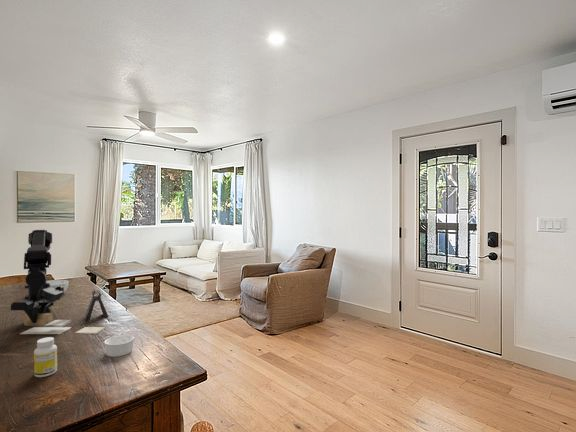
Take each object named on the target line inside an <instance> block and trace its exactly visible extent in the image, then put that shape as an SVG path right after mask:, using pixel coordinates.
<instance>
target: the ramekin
mask: <svg viewBox="0 0 576 432" xmlns="http://www.w3.org/2000/svg"><path fill="white" fill-rule="evenodd" d="M134 340H135V337H134V336H133V335H131V334H130V335H129V334H120V335H115V336H110V337H109V338H107V339H105V340H104V347H105V348H104V349H105V355H106V356H108V357H112V358H118V357H123V356H126V355H128V354H130V353H131V352H132V351H133V347H134Z"/></svg>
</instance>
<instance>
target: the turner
mask: <svg viewBox="0 0 576 432" xmlns="http://www.w3.org/2000/svg"><path fill="white" fill-rule="evenodd" d="M53 315H54V314H53V312H51V313H37V322H36V323H32V321H31V320H30V318H29V317H28V315H27V314H26V313H25V314H24V317H23V319H24V320H23V322H24V326H31V327H32V326H33V327H64V326H66V325H68V324H70V323H71V322H72V319H53V317H54V316H53Z"/></svg>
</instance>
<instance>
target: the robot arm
mask: <svg viewBox="0 0 576 432" xmlns="http://www.w3.org/2000/svg"><path fill="white" fill-rule="evenodd" d="M27 238H28V239H27V243H28V245H30V247H28V248H27V249H26V252H25V253H24V259H23V270H27V275H26V276H25V283H26V284H27V285H24V289H27V294H26V296H25V297H24V299H19V300H17V301H13V302H12V303H10V305H9V310H10V311H23V312H25V315H26V314H27V315H28V317H29V318H30V320H31V321H32V323H36V322H37V313H52V311H51V308H50V307H52V306H54V302H56V301H60V300H61V297H62V296H64V295H65V293H64V292H65V291H64V287H62V286H58V287H57V288H50V284H49V283H47V281H48V280H47V268H50V266H51V265H52V254H51V252H50V251H49V250H50V249H51V244H53V233H52V232H49V231H48V230H47V229H34V230H32V231H31V232H30V233H28V237H27Z"/></svg>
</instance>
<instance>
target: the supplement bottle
mask: <svg viewBox="0 0 576 432" xmlns="http://www.w3.org/2000/svg"><path fill="white" fill-rule="evenodd" d="M54 343H55V338H54V337H52V336H49V337H43V338H39V339H38V340H37V341H36V348H35V349H34V351H33V361H34V362H33V365H34V367H33V368H34V370H33V372H34V377H36V378H44V377H48V376H52V375H53V374H55V373H56V372H58V346H57V345H56V344H54Z"/></svg>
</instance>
